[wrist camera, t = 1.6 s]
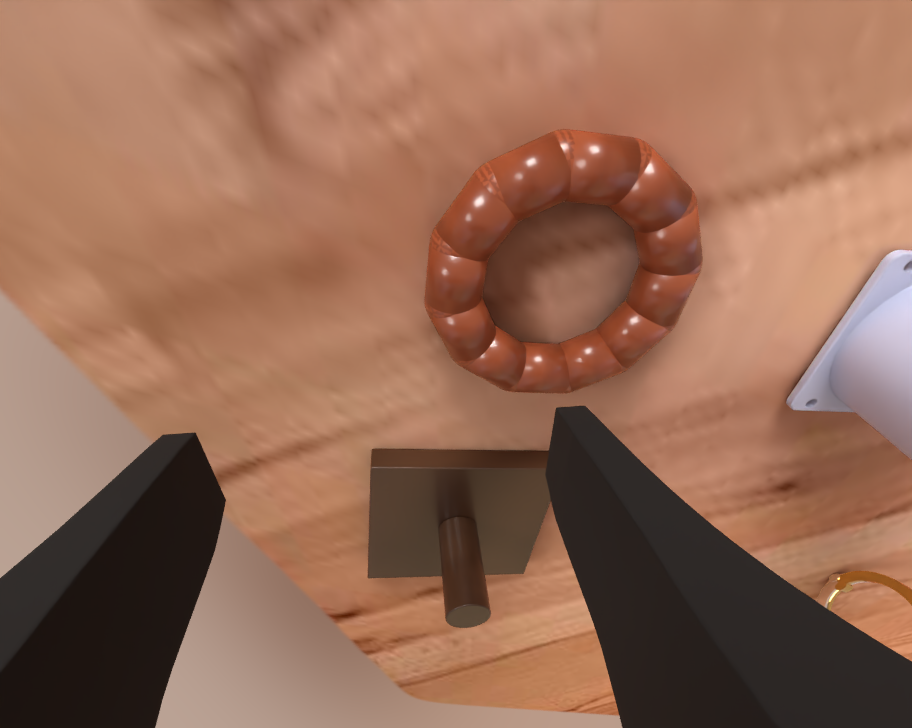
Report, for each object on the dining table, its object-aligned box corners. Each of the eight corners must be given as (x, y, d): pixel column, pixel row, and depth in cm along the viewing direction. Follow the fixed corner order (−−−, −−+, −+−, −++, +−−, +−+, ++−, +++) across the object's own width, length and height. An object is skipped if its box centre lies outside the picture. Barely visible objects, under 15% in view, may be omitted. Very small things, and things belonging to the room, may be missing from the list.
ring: (805, 603, 36) (893, 727, 30) (781, 595, 35) (868, 723, 29) (891, 555, 33) (1010, 683, 27) (868, 544, 32) (987, 676, 26)
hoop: (728, 145, 15) (767, 159, 14) (630, 376, 21) (650, 406, 19) (439, 108, 14) (445, 120, 12) (415, 368, 19) (417, 399, 18)
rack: (555, 450, 23) (594, 555, 19) (519, 555, 28) (543, 657, 24) (371, 448, 22) (365, 560, 17) (368, 559, 27) (362, 668, 22)
